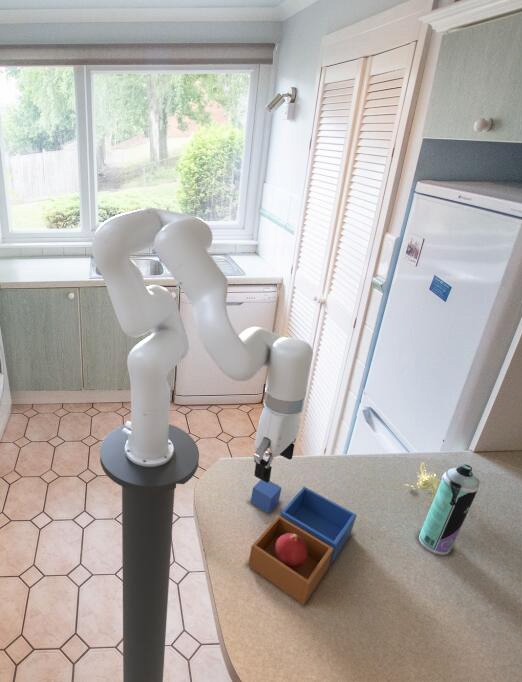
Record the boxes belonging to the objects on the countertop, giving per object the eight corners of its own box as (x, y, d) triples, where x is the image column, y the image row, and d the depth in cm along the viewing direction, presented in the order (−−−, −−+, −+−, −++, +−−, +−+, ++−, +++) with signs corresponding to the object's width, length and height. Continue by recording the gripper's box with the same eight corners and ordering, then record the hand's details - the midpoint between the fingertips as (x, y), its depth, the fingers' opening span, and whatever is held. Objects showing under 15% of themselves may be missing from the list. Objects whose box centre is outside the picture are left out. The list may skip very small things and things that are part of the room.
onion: (270, 549, 89) (275, 520, 86) (299, 552, 89) (307, 522, 85) (275, 575, 84) (281, 546, 81) (307, 578, 84) (315, 549, 80)
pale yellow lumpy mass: (465, 517, 101) (487, 483, 99) (434, 520, 93) (457, 484, 91) (417, 483, 110) (436, 452, 108) (384, 484, 102) (404, 450, 100)
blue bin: (276, 531, 94) (280, 512, 92) (299, 505, 101) (303, 486, 98) (330, 565, 87) (336, 545, 84) (350, 534, 93) (356, 514, 91)
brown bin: (248, 565, 87) (251, 545, 84) (274, 534, 93) (278, 514, 91) (303, 605, 80) (309, 584, 77) (328, 568, 86) (333, 548, 84)
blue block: (250, 502, 101) (252, 487, 99) (260, 492, 104) (263, 477, 102) (268, 513, 98) (271, 498, 96) (278, 502, 101) (281, 487, 99)
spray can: (451, 559, 88) (487, 481, 79) (418, 547, 91) (450, 470, 82) (449, 539, 92) (483, 463, 84) (418, 528, 95) (448, 453, 86)
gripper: (287, 376, 97) (277, 441, 104) (243, 410, 86) (236, 479, 93) (321, 389, 92) (308, 455, 99) (280, 426, 81) (269, 498, 88)
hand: (273, 467), depth 96 cm, fingers open, 9 cm apart
